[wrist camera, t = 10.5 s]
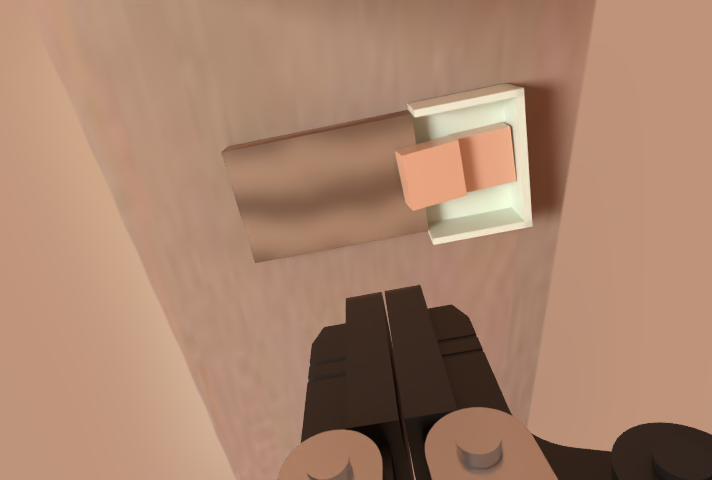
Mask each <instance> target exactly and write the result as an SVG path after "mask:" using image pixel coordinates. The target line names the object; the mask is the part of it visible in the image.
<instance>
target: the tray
mask: <svg viewBox="0 0 712 480" xmlns="http://www.w3.org/2000/svg"><path fill="white" fill-rule="evenodd" d="M407 105H408V110H409V111H410V113H411V114H412V120H413V126H414V133H415V140H416V144H419V143H423V142H427V141H430V140H434V139H437V138H441V137H445V136H448V135H449V134H453V133H457V132H461V131H466V130H470V129H474V128H478V127H482V126H486V125H490V124H495V123H499V122H503V123H505V124H507V125H509V126H510V129H511V138H512V146H513V155H514V164H515V172H516V181H515V182H511V183H506V184H502V185H498V186H493V187H489V188H485V189H480V190H476V191H472V192H467V195H466V196H463V197H460V198H456V199H453V200H449V201H446V202H442V203H439V204H435V205H432V206H428V207H426V213H427V220H428V227H429V230H428V233H429V235H430V238H431V240H432V242H433V245H435V244H440V243H446V242H451V241H456V240H462V239H467V238H473V237H478V236H483V235H489V234H494V233H499V232H505V231H510V230H515V229H521V228H526V227H532V212H531V196H530V179H529V163H528V147H527V131H526V114H525V98H524V88H522V87H519V86H515V85H512V84H508V83H504V84H500V85H495V86H490V87H485V88H480V89H475V90H470V91H465V92H460V93H455V94H451V95H446V96H441V97H436V98H431V99H426V100H421V101H416V102H411V103H407Z"/></svg>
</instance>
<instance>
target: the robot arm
mask: <svg viewBox="0 0 712 480" xmlns="http://www.w3.org/2000/svg"><path fill="white" fill-rule="evenodd" d="M385 297H386V304H387V311H388V317H389V324H390V331H391V336H390V331H389V326H388V321H387V316H386V311H385V305H384V301H383V296H382V292H378V293H373V294H367V295H362V296H356V297H350V298H346V323H345V324H340V325H334V326H328V327H324V328H323V329H322V331H321V332H320V334H319V335H318V337H317V338H316V339H315V341H314V342H313V344H312V349H311V358H310V366H309V375H308V380H309V382H308V384H307V393H306V402H305V411H304V420H303V429H302V438H301V444H300V445H298V446H297V447H296V448H295V449H294V450H293V451H292V452H291V453H290V454H289V455H288V457H287V458H286V459H285V461H284V463H283V465H282V467H281V469H280V472H279V475H278V479H277V480H414V475H413V469H412V462H413V467H414V472H415V477H416V480H712V435H711V434H709V433H706V432H703V431H701V430H698V429H695V428H692V427H688V426H684V425H679V424H673V423H647V424H642V425H638V426H635V427H633V428H630V429H628V430H627V431H625V432H623V434H622V435H620V436H619V437H618V438H617V440H616V442H615V443H614V445H613V449H612V452H610V451H600V450H591V449H581V448H573V447H566V446H561V445H557V444H554V443H550V442H548V441H546V440H543V439H541V438H539V437H537V436H535V435H533V434H532V433H531V432H530V431H529V430H528V428H527V427H526V426H525V425H524V424H523V423H522V422H521V421H519V420H518V419H516V418H515V417H513V416H512V414H511V412H510V410H509V408H508V406H507V404H506V401H505V399H504V397H503V394H502V392H501V390H500V388H499V385H498V383H497V381H496V378H495V376H494V374H493V372H492V369H491V367H490V365H489V362H488V360H487V358H486V356H485V353H484V352H483V349H482V346H481V344H480V342H479V340H478V337H477V336H476V333H475V330H474V328H473V326H472V324H471V321H470V319H469V317H468V316H467V315H465V314H464V313H463V312H461V311H460V310H458V309H457V308H456V307H454V306H453V305H446V306H441V307H435V308H429V309H427V306H426V302H425V299H424V296H423V292H422V289H421V286H420V285H417V286H411V287H405V288H400V289H394V290H389V291H385ZM391 337H392V341H391ZM392 344H393V346H392ZM408 442H409V443H408ZM409 447H410V449H409ZM410 452H411V456H410ZM411 457H412V462H411Z"/></svg>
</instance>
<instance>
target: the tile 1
mask: <svg viewBox="0 0 712 480" xmlns="http://www.w3.org/2000/svg"><path fill="white" fill-rule="evenodd" d="M395 155H396V160H397V165H398V169H399V174H400V179H401V184H402V189H403V193H404V198H405V203H406V204H407V205H408V206H409V207H410V208H411V209H412V210H413V211H415V210H418V209H422V208H425V207H428V206H432V205H435V204H439V203H442V202H446V201H449V200H453V199H456V198H460V197H463V196H466V195H467V192H466V185H465V179H464V173H463V166H462V160H461V153H460V147H459V141H458V140H457V139H455V138H453V137H450V136H445V137H441V138H437V139H434V140H430V141H427V142H423V143H419V144H416V145H412V146H409V147H405V148H402V149H398V150H395Z"/></svg>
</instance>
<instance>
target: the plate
mask: <svg viewBox="0 0 712 480" xmlns="http://www.w3.org/2000/svg"><path fill="white" fill-rule="evenodd" d="M412 145H416V140H415V133H414V126H413V120H412V114H411V113H410V111H409V110H406V111H401V112H396V113H391V114H386V115H381V116H376V117H371V118H366V119H361V120H357V121H352V122H347V123H342V124H337V125H332V126H327V127H322V128H317V129H312V130H307V131H302V132H298V133H293V134H288V135H283V136H278V137H273V138H268V139H263V140H258V141H253V142H248V143H243V144H238V145H234V146H229V147H227V148H226V149H225V150H224V151H222V152H221V153H222V156H223V159H224V163H225V166H226V169H227V173H228V176H229V179H230V182H231V186H232V189H233V192H234V195H235V199H236V202H237V205H238V208H239V212H240V215H241V218H242V222H243V225H244V228H245V231H246V235H247V238H248V241H249V244H250V248H251V251H252V254H253V258H254V261H255V263H258V262H264V261H269V260H274V259H280V258H285V257H290V256H296V255H301V254H306V253H312V252H317V251H322V250H328V249H333V248H338V247H343V246H349V245H354V244H359V243H365V242H370V241H375V240H381V239H386V238H391V237H397V236H402V235H407V234H413V233H418V232H423V231H428V230H429V227H428V220H427V213H426V207H425V208H422V209H418V210H415V211H413V210H412V209H411V208H410V207H409V206H408V205H407V204H406V203H405V198H404V193H403V189H402V184H401V179H400V174H399V169H398V165H397V160H396V155H395V150H398V149H402V148H405V147H409V146H412Z"/></svg>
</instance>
